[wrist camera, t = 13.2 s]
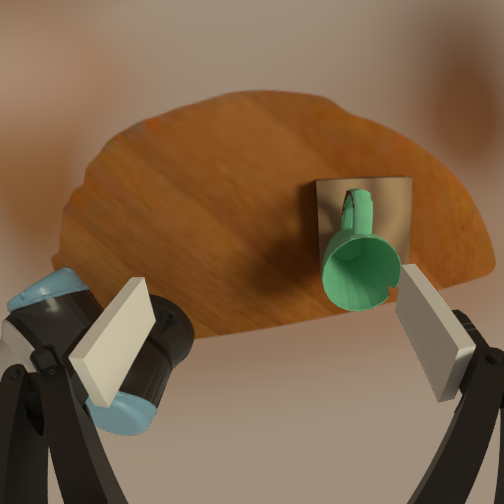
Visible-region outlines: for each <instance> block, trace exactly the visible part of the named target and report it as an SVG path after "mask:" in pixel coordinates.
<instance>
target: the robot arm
mask: <svg viewBox="0 0 504 504" xmlns="http://www.w3.org/2000/svg"><path fill="white" fill-rule="evenodd" d="M7 308H8V311H9V312H10V313H11V314H10V315H9V316H8V317H7V318H6V319H4V320H3V322H2V336H1V339H0V504H48V496H47V495H48V490H47V488H48V487H47V485H48V484H47V482H48V481H47V476H48V447H49V448H50V453H51V458H52V462H53V466H54V470H55V473H56V477H57V481H58V484H59V488H60V491H61V495H62V498H63V501H64V504H128V502H127V500H126V498H125V496H124V494H123V492H122V490H121V488H120V486H119V483H118V481H117V479H116V477H115V475H114V473H113V470H112V468H111V466H110V464H109V461H108V459H107V456H106V454H105V451H104V449H103V447H102V444H101V441H100V439H99V436H98V433H97V431H96V428H95V426H96V427H98V428H100V429H102V430H105V431H107V432H111V433H114V434H118V435H126V436H132V435H138V434H141V433H143V432H144V431H146V430H147V429H148V427H149V425H150V423H151V422H152V419H153V418H154V416H155V415H156V413H157V408H158V405H159V403H160V400H161V397H162V395H163V392H164V390H165V387H166V384H167V382H168V379H169V376H170V374H171V372H172V370H173V369H174V368H175V367H176V366H177V365H178V364H179V363H180V362H181V361H182V360H184V359H185V358H186V356H187V355H188V354H189V352H190V349H191V347H192V344H193V341H194V330H193V326H192V324H191V322H190V320H189V318H188V317H187V315H186V314H185V313H184V312H183V311H182V310H181V309H180V308H179V307H178V306H177V305H175V304H174V303H172V302H171V301H169V300H167V299H165V298H162V297H159V296H155V295H149V294H148V290H147V286H146V283H145V279H144V277H132V278H131V279H130V280H129V281H128V282H127V283H126V285H125V286H124V287H123V288H122V290H121V291H120V292H119V293H118V294H117V296H116V297H115V298H114V299H113V300H112V302H111V303H110V304H109V305H108V307H107V308H106V309H105V310H104V309H103V308H102V306H101V305H100V304H99V302H98V301H97V300H96V298H95V297H94V295H93V294H92V293H91V291H90V288H89V287H88V286H86V285H85V284H84V283H83V281H82V280H81V279H80V277H79V276H78V275H77V274H76V272H75V271H74V270H72V269H70V268H61V269H59V270H57V271H55V272H53V273H51V274H49V275H48V276H46V277H44V278H43V279H41V280H40V281H38V282H36V283H35V284H33V285H32V286H30V287H28V288H27V289H26V290H24V291H23V292H21V293H20V294H18V295H17V296H15V297H14V298H12V299H11V300H10V301H9V302H8V303H7ZM395 312H396V314H397V316H398V318H399V320H400V322H401V324H402V326H403V328H404V330H405V332H406V334H407V336H408V338H409V340H410V342H411V344H412V346H413V348H414V350H415V352H416V354H417V356H418V359H419V361H420V363H421V365H422V367H423V369H424V372H425V374H426V376H427V378H428V380H429V383H430V385H431V387H432V390H433V392H434V394H435V396H436V399H437V401H438V402H443V401H447V400H451V399H454V398H455V396H456V394H457V392H458V389H460V391H461V393H462V398H461V400H460V402H459V404H458V406H457V408H456V410H455V412H454V413H455V414H454V416H453V418H452V421H451V423H450V425H449V427H448V430H447V432H446V434H445V436H444V438H443V440H442V442H441V444H440V446H439V448H438V450H437V452H436V454H435V456H434V458H433V460H432V462H431V464H430V466H429V467H428V469H427V471H426V473H425V475H424V476H423V478H422V480H421V482H420V483H419V485H418V486H417V488H416V490H415V491H414V493H413V495H412V496H411V498H410V500H409V501H408V503H407V504H465V502H466V500H467V498H468V496H469V493H470V491H471V489H472V487H473V484H474V482H475V479H476V477H477V475H478V472H479V470H480V467H481V464H482V462H483V459H484V456H485V454H486V451H487V448H488V445H489V442H490V439H491V435H492V432H493V429H494V426H495V422H496V419H497V415H498V412H499V408H500V411H501V413H500V414H501V427H500V453H499V466H498V476H497V485H496V493H495V500H494V504H504V351H502V350H500V349H498V348H493V347H489V345H488V344H487V343H486V341H485V340H484V338H483V337H482V336H481V334H480V333H479V331H478V330H477V329H476V327H475V326H474V325H473V324H472V322H471V321H470V319H469V318H468V317H467V315H465V314H464V313H462V312H461V311H459V310H450V308H449V307H448V306H447V304H446V303H445V302H444V300H443V299H442V298H441V297H440V295H439V294H438V292H437V291H436V290H435V289H434V287H433V286H432V285H431V283H430V282H429V281H428V280H427V278H426V277H425V276H424V275H423V273H422V272H421V271H420V270H419V268H418V267H417V266H416V265H415V264H409V265H401V273H400V281H399V289H398V296H397V304H396V309H395Z"/></svg>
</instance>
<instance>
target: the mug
mask: <svg viewBox="0 0 504 504" xmlns="http://www.w3.org/2000/svg"><path fill="white" fill-rule="evenodd" d="M372 221H373V201H372V197H371V194H370V193H369V192H368V191H366V190H363V189H358V188H352V189H349V190H347V191H346V195H345V199H344V203H343V207H342V221H341V231H339V232H338V233H336V234H335V235H334V237H333V238H332V239H331V240H330V242H329V244H328V246H327V248H326V251H325V254H324V258H323V265H322V272H321V279H322V284H323V289H324V292H325V293H326V295H327V296H328V298H329V300H330V301H331V302H333V303H334V304H335V305H336V306H338V307H340V308H342V309H345V310H348V311H364V310H369V309H373V308H375V307H376V306H378V305H380V304H382V303H384V302H385V301H386V300H387V299H388V298H389V286H391V287H393V288H396V287H397V286H398V284H399V280H400V273H401V261H400V258H399V256H398V254H397V252H396V250H395V249H394V248H393V247H392V246H391V245H390V244H389V243H388V242H387V241H386V240H385V239H383V238H381V237H379V236H377V235H374V234H372Z"/></svg>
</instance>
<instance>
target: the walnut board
mask: <svg viewBox="0 0 504 504" xmlns="http://www.w3.org/2000/svg"><path fill="white" fill-rule="evenodd" d="M352 188H358V189H363V190H366V191H368V192H369V193H370V194H371V197H372V201H373V221H372V234H374V235H377V236H379V237H381V238H383V239H385V240H386V241H387V242H388V243H389V244H390V245H391V246H392V247H393V248H394V249H395V250H396V252H397V254H398V256H399V258H400V261H401V265H408V257H409V245H410V231H411V211H412V177H404V176H373V177H348V178H329V179H316V193H317V210H318V231H319V259H320V275H321V272H322V265H323V258H324V254H325V251H326V248H327V246H328V244H329V242H330V240H331V239H332V238H333V237H334V235H335V234H336V233H338V232H339V231H341V221H342V207H343V203H344V199H345V195H346V191H347V190H349V189H352Z"/></svg>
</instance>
